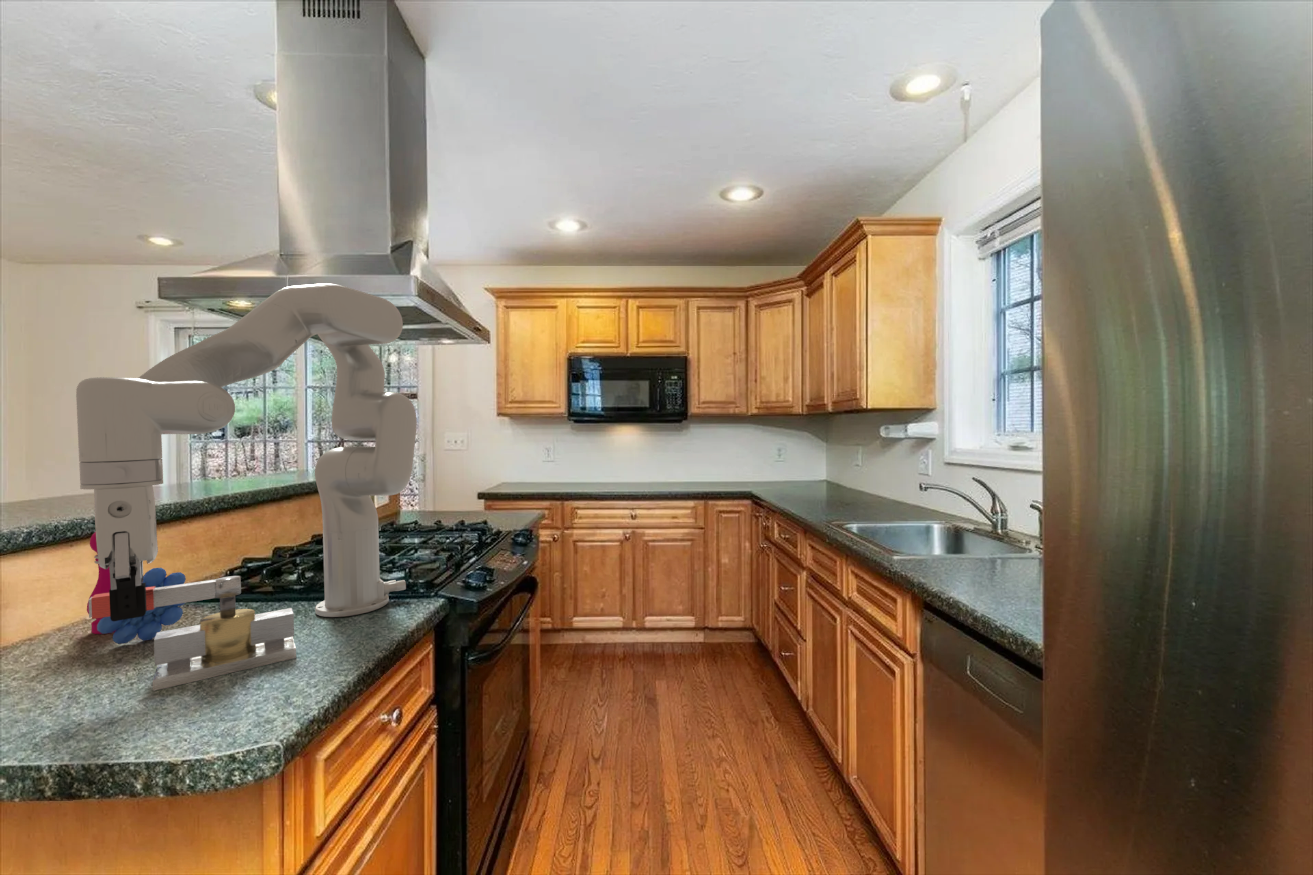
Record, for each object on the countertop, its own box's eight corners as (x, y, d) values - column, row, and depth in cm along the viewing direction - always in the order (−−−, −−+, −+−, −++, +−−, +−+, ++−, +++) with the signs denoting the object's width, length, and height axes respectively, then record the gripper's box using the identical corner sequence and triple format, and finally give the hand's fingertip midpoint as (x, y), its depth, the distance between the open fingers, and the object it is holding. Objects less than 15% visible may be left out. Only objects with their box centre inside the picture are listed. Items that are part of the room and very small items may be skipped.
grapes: (190, 624, 97) (188, 558, 97) (194, 633, 92) (192, 564, 92) (97, 643, 89) (95, 571, 89) (97, 655, 84) (95, 579, 84)
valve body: (291, 640, 89) (289, 580, 89) (296, 657, 82) (294, 593, 82) (160, 668, 79) (158, 601, 79) (153, 690, 72) (150, 617, 72)
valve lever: (241, 591, 82) (240, 573, 82) (240, 596, 80) (240, 577, 80) (93, 614, 73) (92, 593, 73) (87, 620, 70) (86, 599, 70)
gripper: (159, 476, 65) (165, 625, 65) (165, 469, 76) (171, 597, 77) (68, 481, 60) (75, 642, 61) (90, 473, 72) (96, 609, 72)
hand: (129, 616), depth 69 cm, fingers closed
